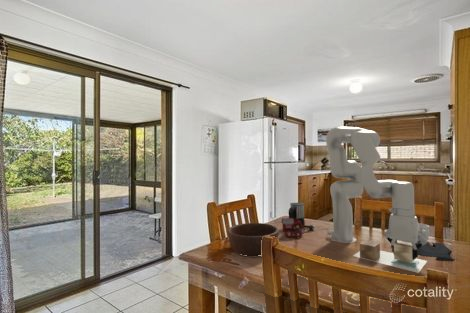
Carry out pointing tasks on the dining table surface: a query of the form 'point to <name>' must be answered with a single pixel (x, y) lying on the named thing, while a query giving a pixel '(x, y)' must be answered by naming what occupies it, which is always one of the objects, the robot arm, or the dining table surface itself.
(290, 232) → the toy fire truck
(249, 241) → the wooden bowl
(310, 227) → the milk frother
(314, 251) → the dining table surface
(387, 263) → the build plate
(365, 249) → the walnut block
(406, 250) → the birch block
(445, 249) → the dark slate chunk
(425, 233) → the cup
